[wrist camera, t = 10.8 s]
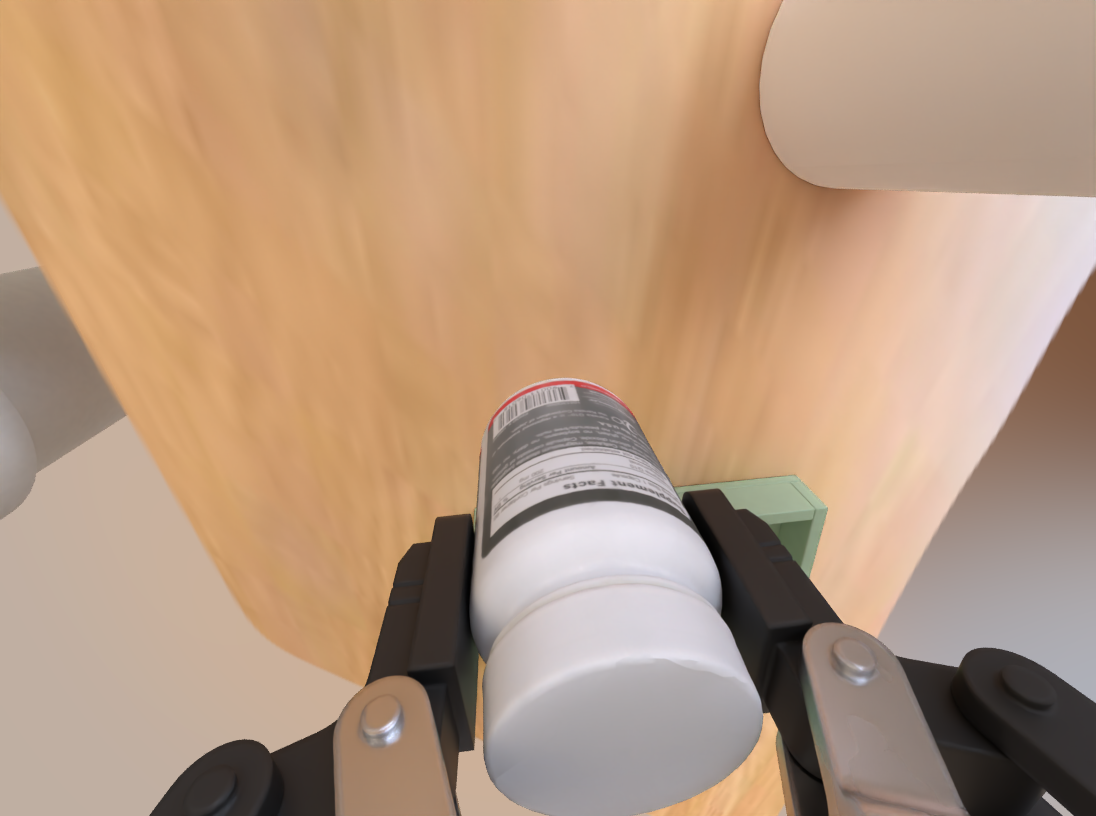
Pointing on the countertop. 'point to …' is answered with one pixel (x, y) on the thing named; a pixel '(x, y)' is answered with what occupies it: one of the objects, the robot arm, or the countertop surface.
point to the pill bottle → (597, 616)
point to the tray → (777, 511)
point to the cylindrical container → (934, 95)
